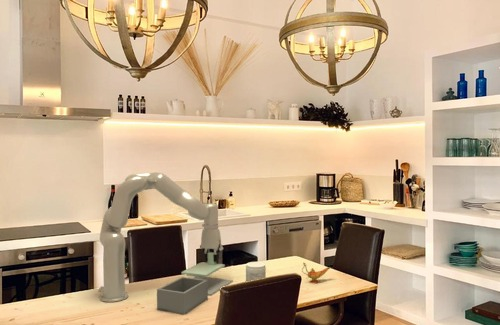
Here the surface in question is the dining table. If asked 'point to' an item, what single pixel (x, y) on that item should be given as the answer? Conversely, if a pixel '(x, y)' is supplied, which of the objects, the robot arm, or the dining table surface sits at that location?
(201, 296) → the parts tub
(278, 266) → the dining table surface
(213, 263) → the lid
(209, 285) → the mat
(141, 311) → the dining table surface
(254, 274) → the supplement tub
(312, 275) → the magic lamp
